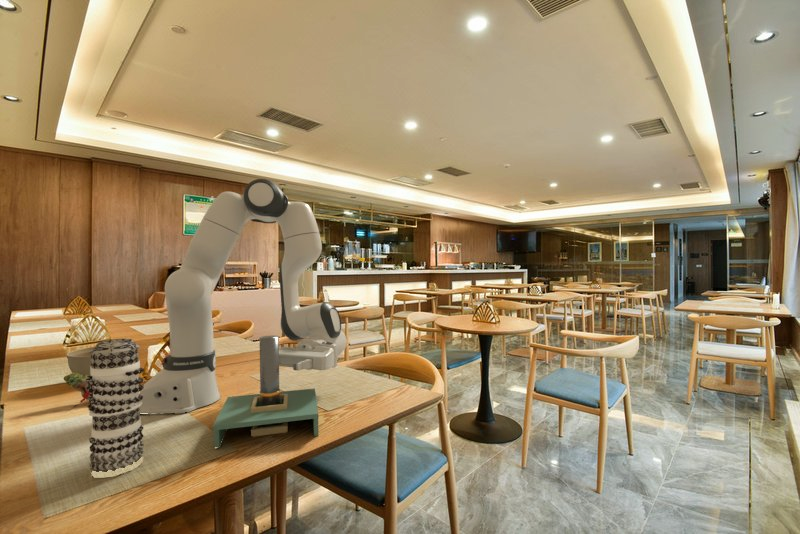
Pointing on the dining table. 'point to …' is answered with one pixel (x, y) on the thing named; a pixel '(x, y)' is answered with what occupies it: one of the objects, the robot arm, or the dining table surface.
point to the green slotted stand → (266, 413)
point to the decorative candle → (115, 405)
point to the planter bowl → (80, 361)
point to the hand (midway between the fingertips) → (279, 365)
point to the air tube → (269, 372)
